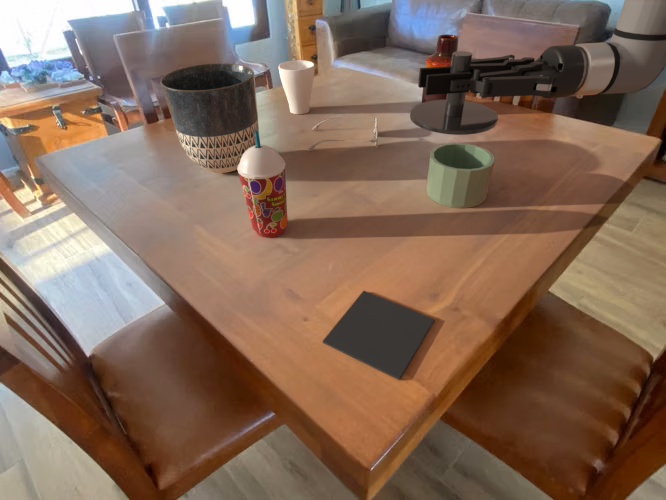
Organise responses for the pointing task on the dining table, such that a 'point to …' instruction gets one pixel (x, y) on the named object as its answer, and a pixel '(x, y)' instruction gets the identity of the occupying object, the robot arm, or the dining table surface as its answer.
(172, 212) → the dining table surface
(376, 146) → the eyeglasses
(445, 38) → the vase
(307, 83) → the cup
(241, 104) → the planter
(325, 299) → the dining table surface
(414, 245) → the dining table surface
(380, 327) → the mat
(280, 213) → the smoothie
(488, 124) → the lid
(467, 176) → the pot
